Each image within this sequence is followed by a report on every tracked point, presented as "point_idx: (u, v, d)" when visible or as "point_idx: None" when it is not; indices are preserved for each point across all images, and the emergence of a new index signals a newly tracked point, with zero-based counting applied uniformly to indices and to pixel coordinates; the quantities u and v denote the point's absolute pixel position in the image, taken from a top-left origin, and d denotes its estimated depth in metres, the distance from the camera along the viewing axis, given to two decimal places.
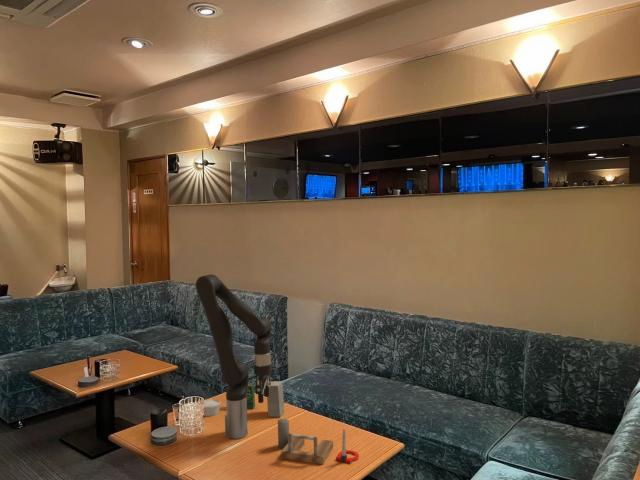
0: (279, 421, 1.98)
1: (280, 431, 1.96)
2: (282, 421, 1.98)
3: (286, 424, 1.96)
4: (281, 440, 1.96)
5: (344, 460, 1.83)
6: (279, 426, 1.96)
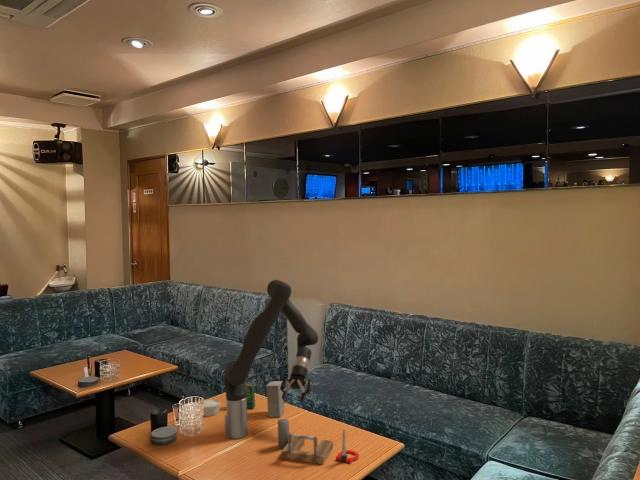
0: (279, 421, 1.98)
1: (280, 431, 1.96)
2: (282, 421, 1.98)
3: (286, 424, 1.96)
4: (281, 440, 1.96)
5: (344, 460, 1.83)
6: (279, 426, 1.96)
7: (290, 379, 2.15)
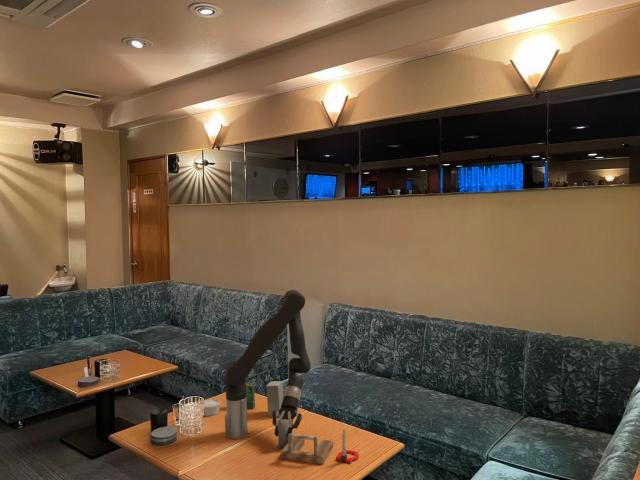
0: (279, 421, 1.98)
1: (280, 431, 1.96)
2: (282, 421, 1.98)
3: (286, 424, 1.96)
4: (281, 440, 1.96)
5: (344, 460, 1.83)
6: (279, 426, 1.96)
7: (280, 410, 2.03)
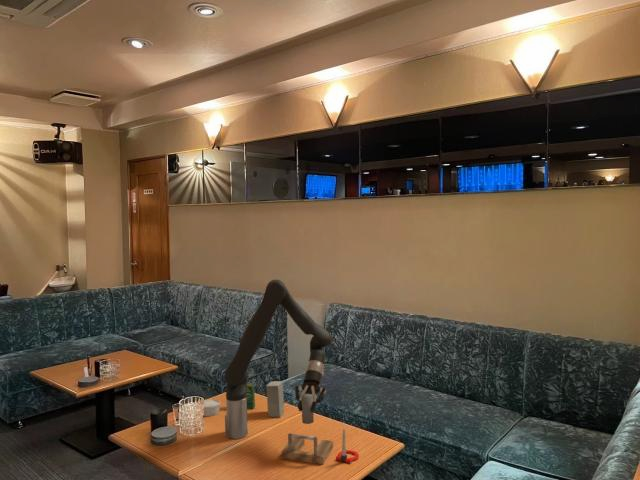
0: (303, 395, 1.91)
1: (304, 405, 1.90)
2: (306, 395, 1.92)
3: (310, 398, 1.90)
4: (305, 415, 1.90)
5: (344, 460, 1.83)
6: (303, 400, 1.90)
7: (303, 385, 1.97)
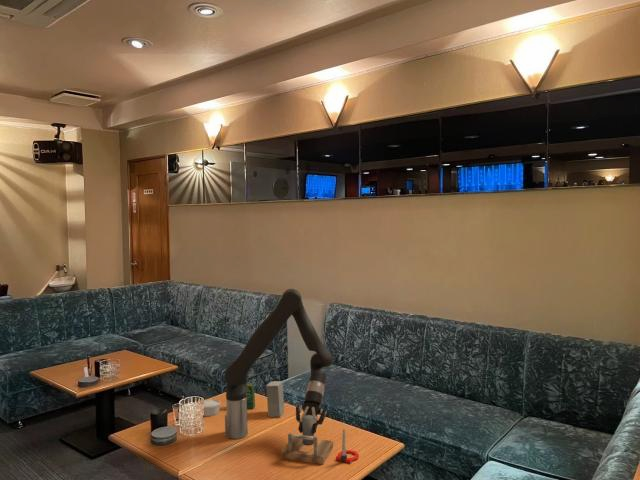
0: (303, 417, 1.92)
1: (304, 427, 1.90)
2: (306, 417, 1.92)
3: (311, 419, 1.90)
4: None
5: (344, 460, 1.83)
6: (303, 422, 1.90)
7: (304, 406, 1.97)
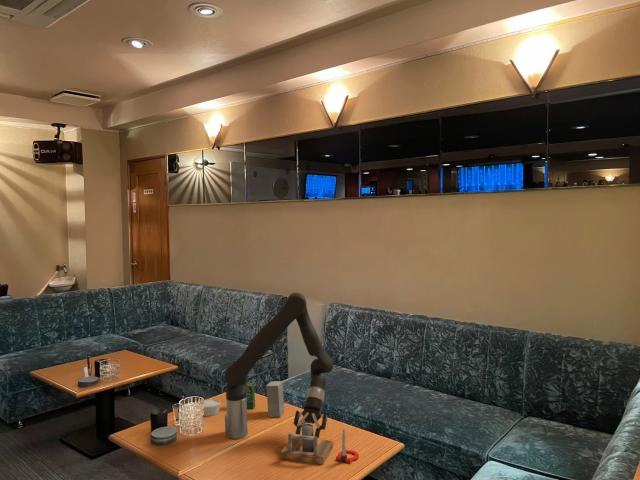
0: (303, 426, 1.92)
1: None
2: (306, 426, 1.92)
3: (311, 429, 1.90)
4: (306, 446, 1.90)
5: (344, 460, 1.83)
6: (303, 431, 1.90)
7: (304, 412, 1.97)
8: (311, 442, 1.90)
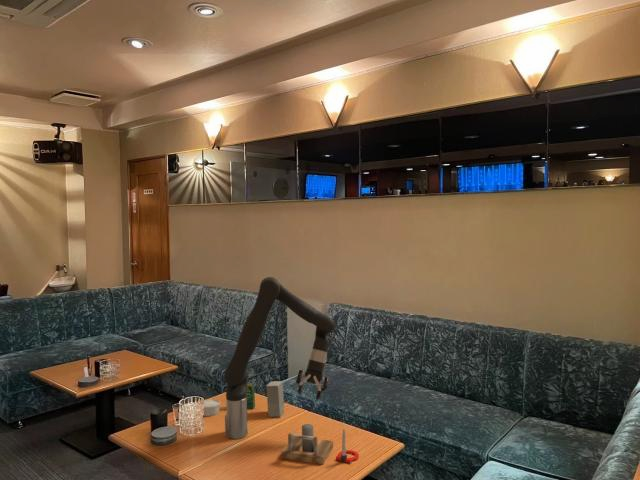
0: (303, 426, 1.92)
1: None
2: (306, 426, 1.92)
3: (311, 429, 1.90)
4: (306, 446, 1.90)
5: (344, 460, 1.83)
6: (303, 431, 1.90)
7: (306, 373, 2.07)
8: (311, 442, 1.90)
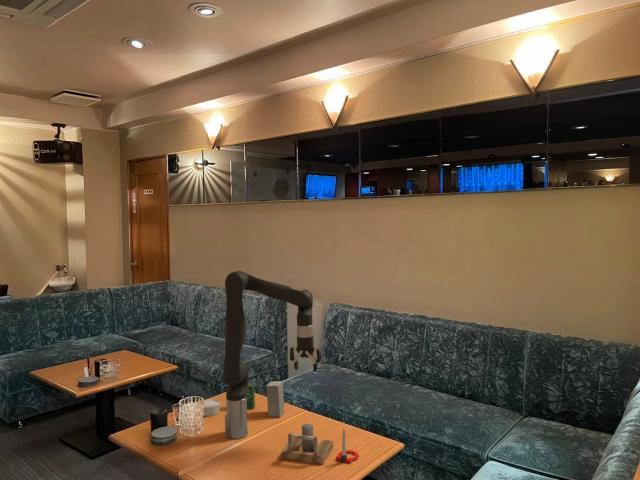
0: (303, 426, 1.92)
1: None
2: (306, 426, 1.92)
3: (311, 429, 1.90)
4: (306, 446, 1.90)
5: (344, 460, 1.83)
6: (303, 431, 1.90)
7: (297, 349, 2.05)
8: (311, 442, 1.90)
